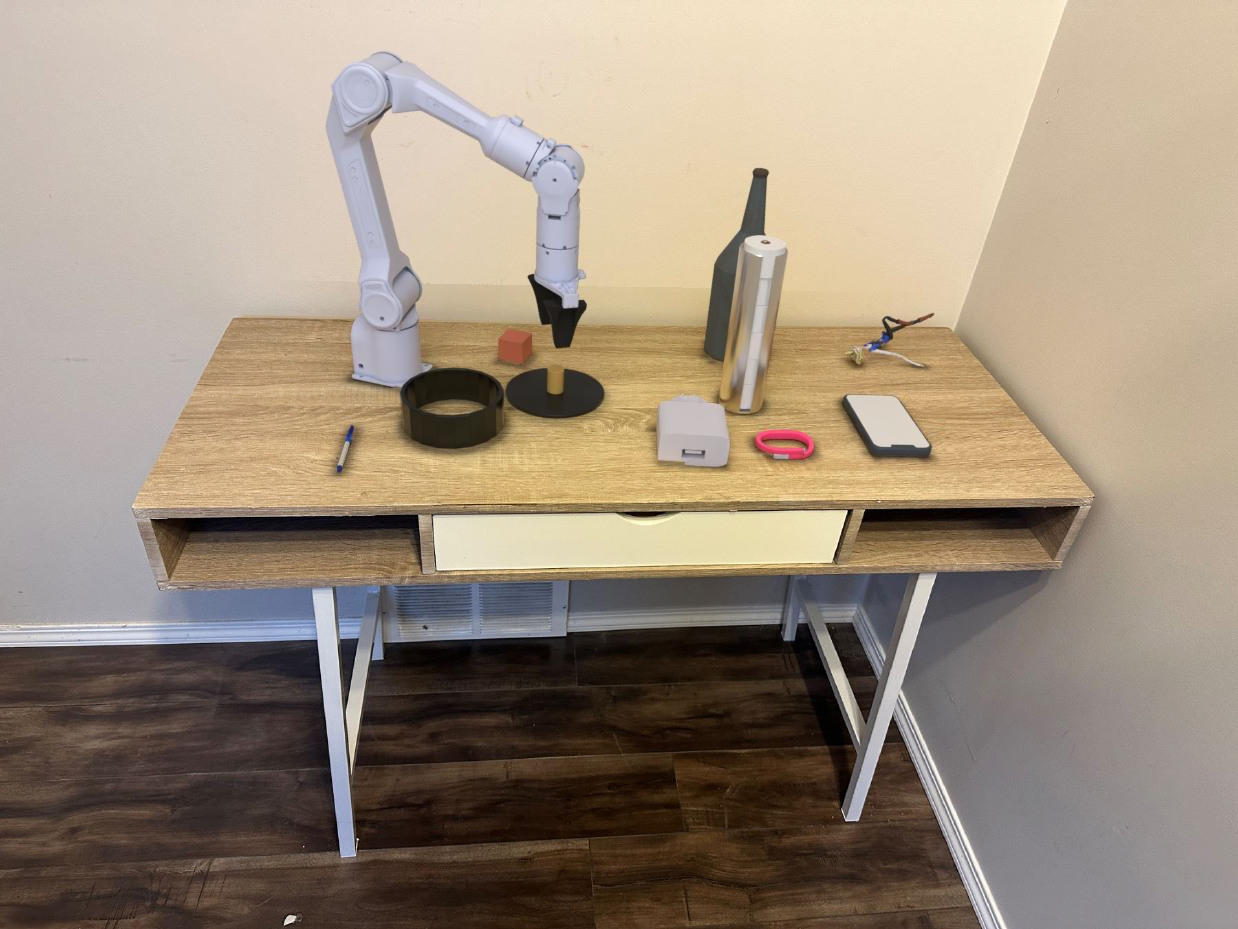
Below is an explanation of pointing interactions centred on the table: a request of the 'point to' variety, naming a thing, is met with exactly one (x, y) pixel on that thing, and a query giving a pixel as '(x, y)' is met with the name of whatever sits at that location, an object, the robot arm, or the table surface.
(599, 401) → the tin lid
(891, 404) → the smartphone
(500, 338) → the block
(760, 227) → the bottle
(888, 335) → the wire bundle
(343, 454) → the ballpoint pen
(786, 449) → the fitness band
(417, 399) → the tin
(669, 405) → the charger
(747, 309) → the silver metal cylinder
